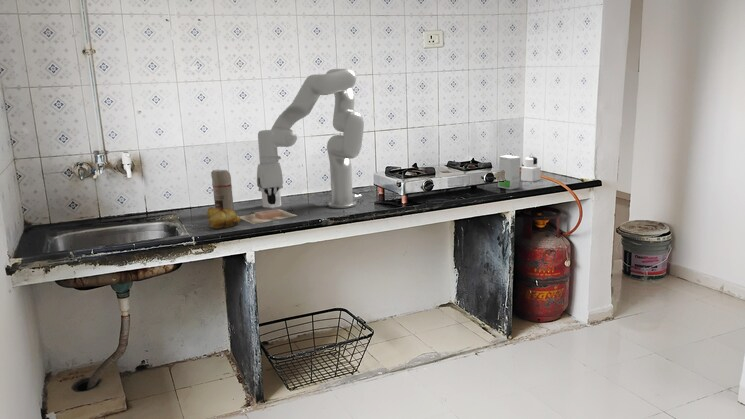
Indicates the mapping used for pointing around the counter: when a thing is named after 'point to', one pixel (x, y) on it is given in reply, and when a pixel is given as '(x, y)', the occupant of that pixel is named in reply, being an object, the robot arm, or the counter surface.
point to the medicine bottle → (530, 170)
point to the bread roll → (222, 218)
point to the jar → (277, 202)
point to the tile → (268, 214)
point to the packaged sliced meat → (255, 220)
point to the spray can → (222, 189)
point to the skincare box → (510, 171)
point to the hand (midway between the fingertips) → (271, 203)
